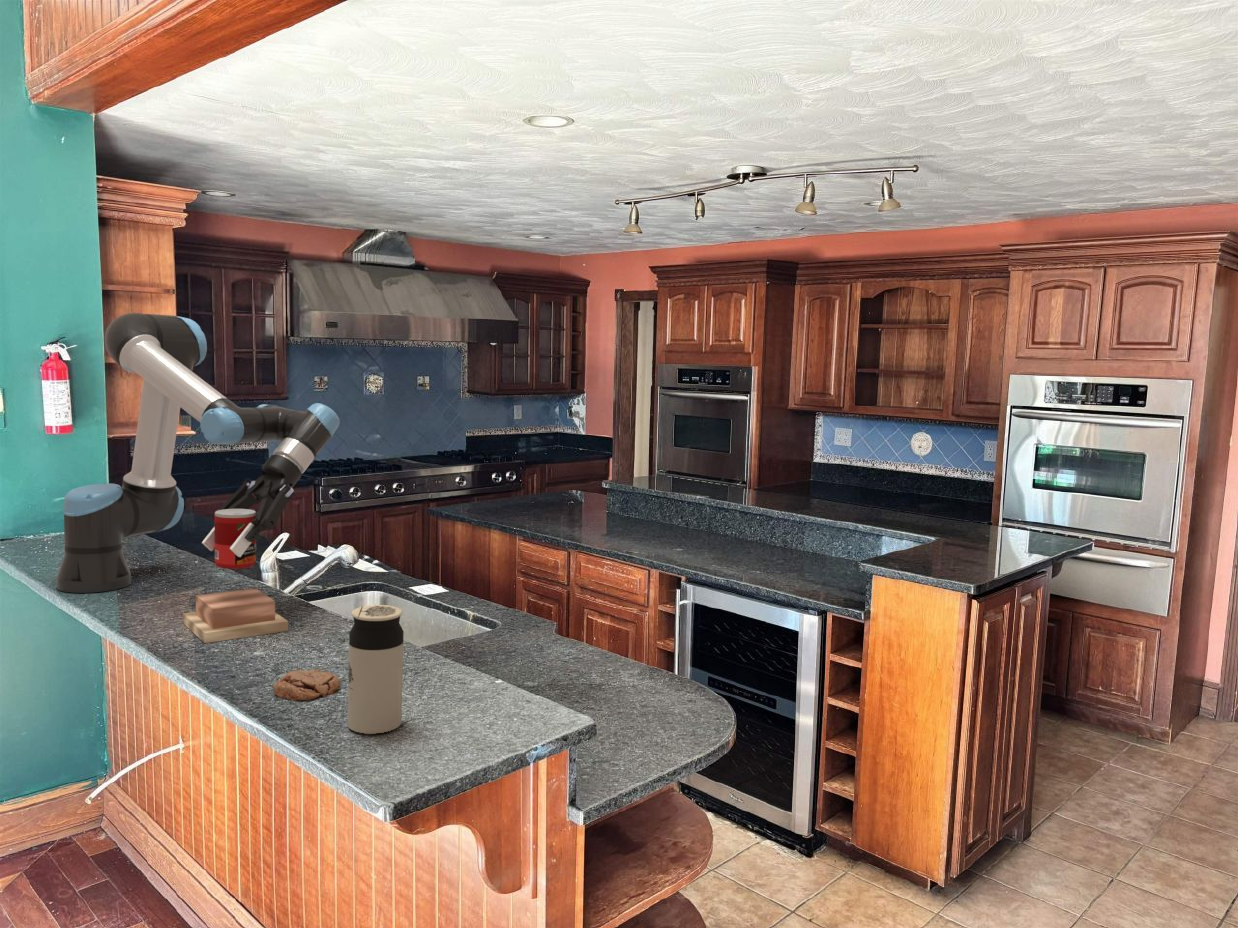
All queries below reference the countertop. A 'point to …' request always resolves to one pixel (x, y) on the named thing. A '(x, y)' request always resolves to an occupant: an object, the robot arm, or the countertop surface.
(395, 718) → the travel mug
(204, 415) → the robot arm
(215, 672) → the countertop surface
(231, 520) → the canned food
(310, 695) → the cookie
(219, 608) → the stand
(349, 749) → the countertop surface
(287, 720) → the countertop surface
